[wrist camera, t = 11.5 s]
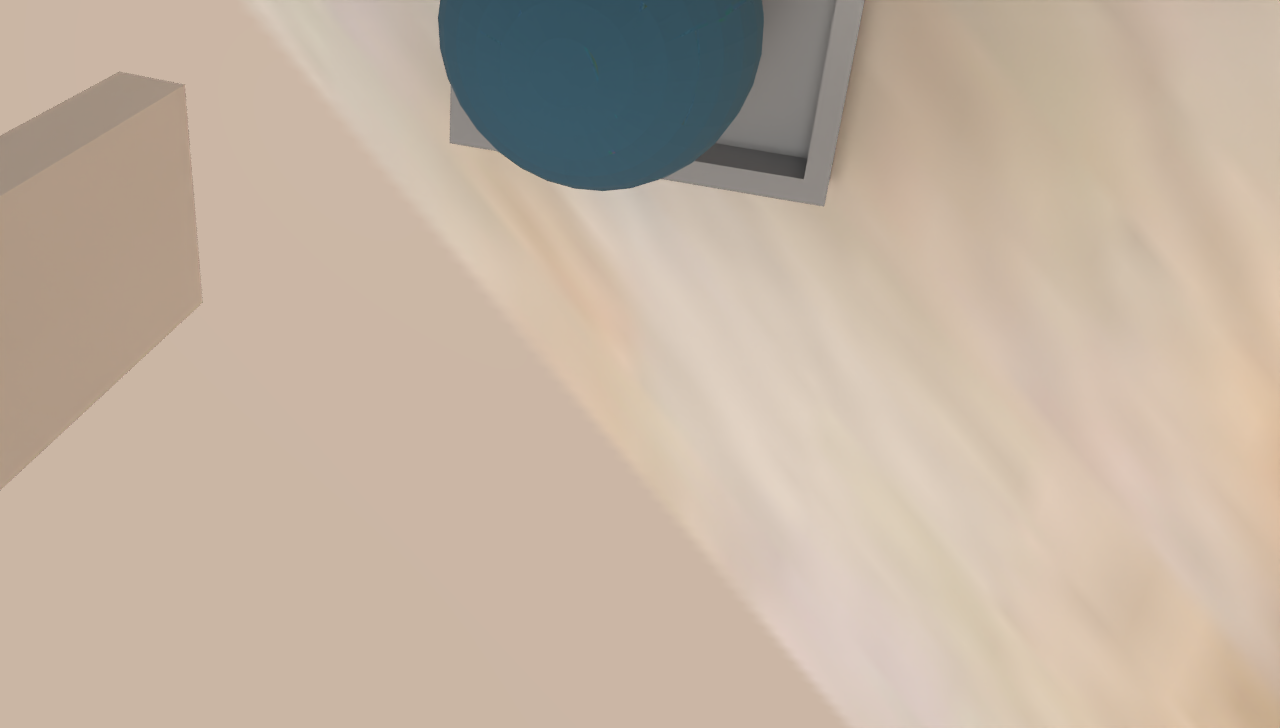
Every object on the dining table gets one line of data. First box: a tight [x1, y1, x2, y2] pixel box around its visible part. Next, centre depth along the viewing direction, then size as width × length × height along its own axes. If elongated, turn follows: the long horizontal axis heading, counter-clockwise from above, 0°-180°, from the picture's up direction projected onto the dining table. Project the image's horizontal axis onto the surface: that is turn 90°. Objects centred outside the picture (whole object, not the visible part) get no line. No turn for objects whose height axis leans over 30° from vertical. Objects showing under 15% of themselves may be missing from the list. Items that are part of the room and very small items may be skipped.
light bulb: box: [438, 0, 764, 191], centre depth 32 cm, size 8×8×12 cm
